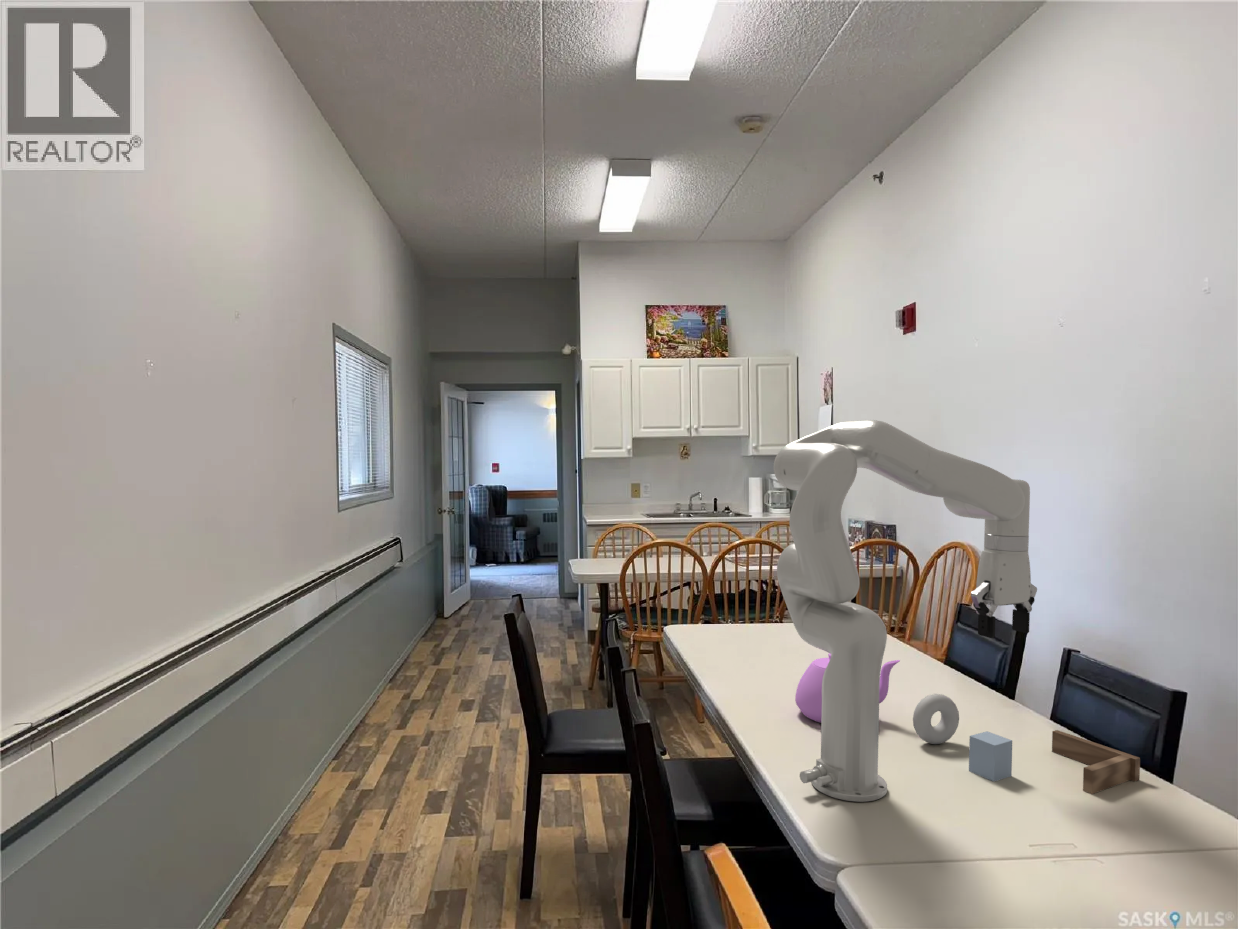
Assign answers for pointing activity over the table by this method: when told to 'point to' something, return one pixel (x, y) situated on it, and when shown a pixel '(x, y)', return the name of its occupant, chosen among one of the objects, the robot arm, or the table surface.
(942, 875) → the table surface
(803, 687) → the teapot
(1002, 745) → the block
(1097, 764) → the corner stop
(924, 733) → the donut
